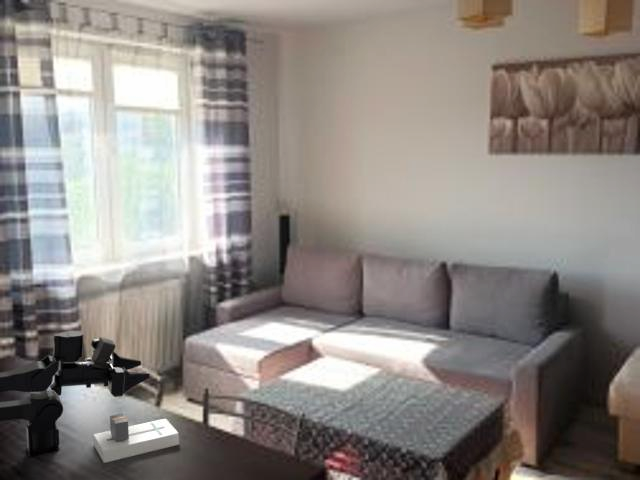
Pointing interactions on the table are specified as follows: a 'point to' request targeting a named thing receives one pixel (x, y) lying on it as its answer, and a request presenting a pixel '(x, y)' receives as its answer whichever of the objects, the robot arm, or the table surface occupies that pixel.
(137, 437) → the console
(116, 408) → the table surface
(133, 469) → the table surface
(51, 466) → the table surface
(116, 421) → the fader
